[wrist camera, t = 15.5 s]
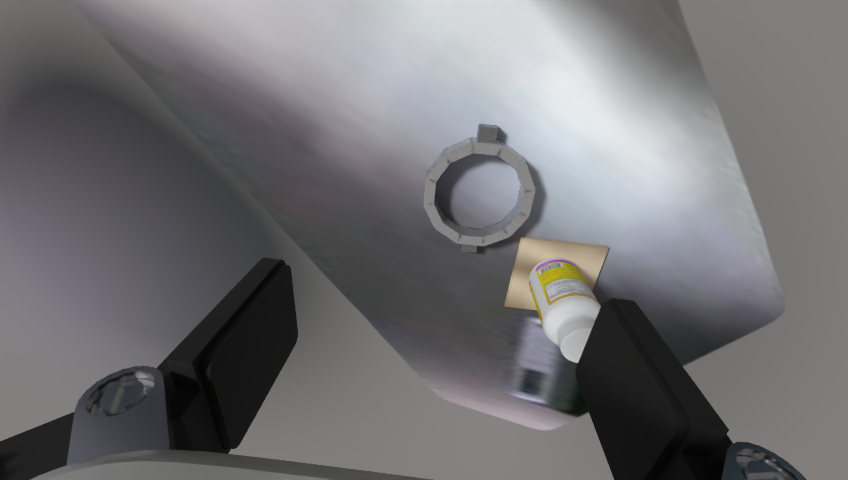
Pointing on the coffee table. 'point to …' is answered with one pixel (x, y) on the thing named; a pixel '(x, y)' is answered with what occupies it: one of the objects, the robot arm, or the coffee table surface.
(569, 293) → the supplement bottle
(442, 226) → the collar
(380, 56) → the coffee table surface
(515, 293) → the mat
